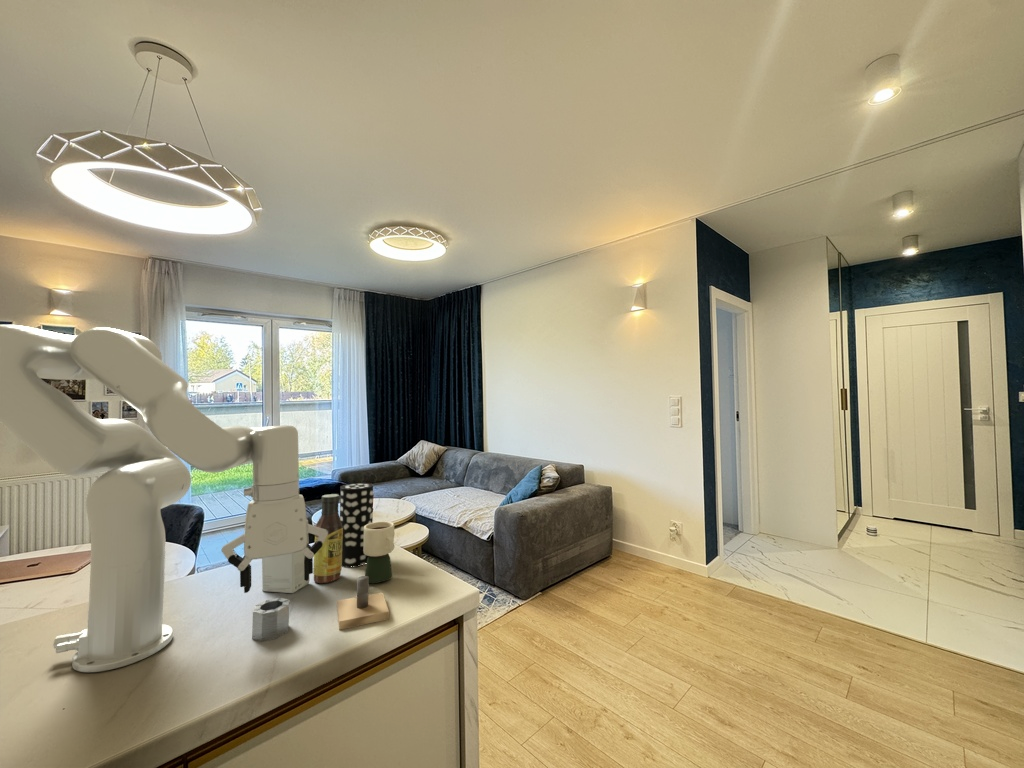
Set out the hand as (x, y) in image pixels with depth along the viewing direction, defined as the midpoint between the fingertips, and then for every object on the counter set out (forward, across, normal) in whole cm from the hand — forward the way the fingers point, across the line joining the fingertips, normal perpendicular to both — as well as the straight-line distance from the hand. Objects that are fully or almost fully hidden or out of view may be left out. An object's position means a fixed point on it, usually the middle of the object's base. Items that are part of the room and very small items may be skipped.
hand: (278, 583), depth 77 cm
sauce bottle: (+9, +9, +21) cm, 25 cm away
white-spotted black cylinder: (+9, +16, +30) cm, 35 cm away
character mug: (+10, +20, +15) cm, 27 cm away
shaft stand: (+9, +15, 0) cm, 17 cm away
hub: (+9, -1, 0) cm, 9 cm away
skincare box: (+9, 0, +20) cm, 22 cm away
